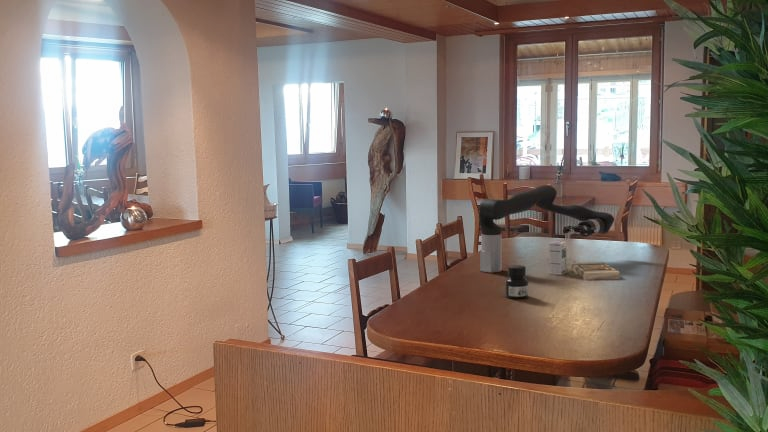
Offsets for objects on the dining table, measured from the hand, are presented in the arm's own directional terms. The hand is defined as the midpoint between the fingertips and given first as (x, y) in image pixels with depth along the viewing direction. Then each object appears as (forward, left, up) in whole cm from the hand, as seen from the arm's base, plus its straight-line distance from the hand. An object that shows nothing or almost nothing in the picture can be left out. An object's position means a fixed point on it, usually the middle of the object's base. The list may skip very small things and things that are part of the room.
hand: (572, 232), depth 323 cm
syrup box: (-12, 0, -18) cm, 22 cm away
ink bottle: (-60, -10, -18) cm, 64 cm away
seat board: (-3, -13, -17) cm, 22 cm away
